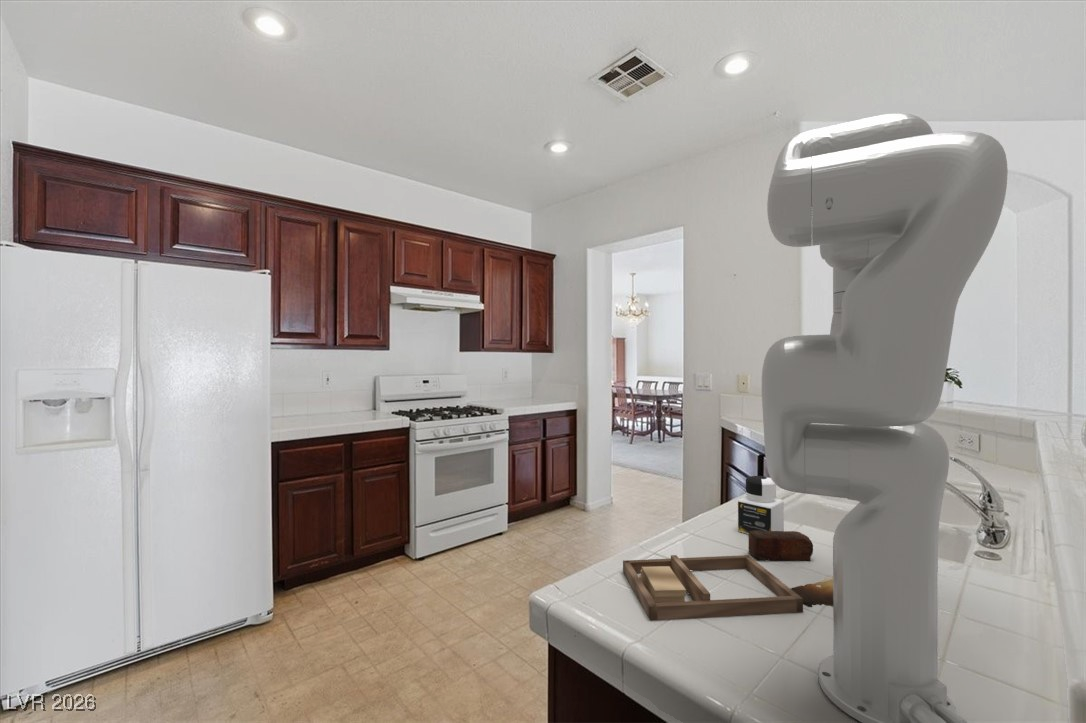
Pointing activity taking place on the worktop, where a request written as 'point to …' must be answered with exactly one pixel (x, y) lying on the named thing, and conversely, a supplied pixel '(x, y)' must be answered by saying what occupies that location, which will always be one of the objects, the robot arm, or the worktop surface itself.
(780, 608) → the rack
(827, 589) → the parchment
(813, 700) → the worktop surface
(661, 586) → the offcut stack
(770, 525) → the medicine bottle
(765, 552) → the brick
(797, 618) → the worktop surface
